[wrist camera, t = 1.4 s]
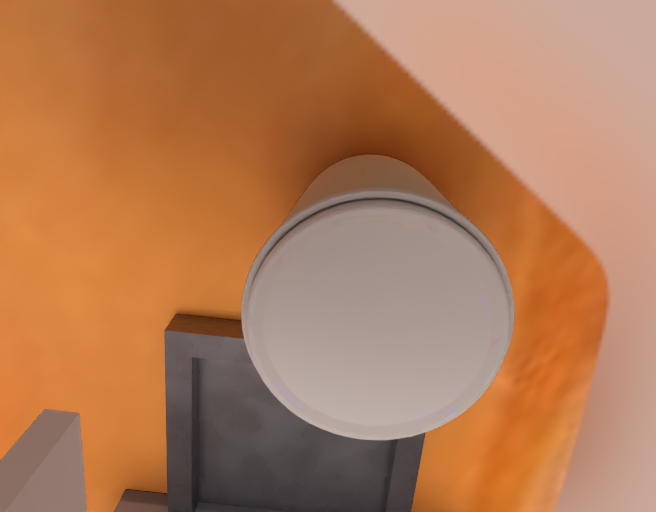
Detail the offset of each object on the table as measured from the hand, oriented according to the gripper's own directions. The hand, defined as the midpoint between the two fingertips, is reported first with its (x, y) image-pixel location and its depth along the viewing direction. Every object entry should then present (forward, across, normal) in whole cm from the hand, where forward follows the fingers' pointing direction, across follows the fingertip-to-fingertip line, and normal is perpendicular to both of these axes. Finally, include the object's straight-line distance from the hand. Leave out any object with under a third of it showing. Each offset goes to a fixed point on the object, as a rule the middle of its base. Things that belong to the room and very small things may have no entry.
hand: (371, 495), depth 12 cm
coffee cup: (+19, 0, 0) cm, 19 cm away
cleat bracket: (+18, -2, -14) cm, 23 cm away
